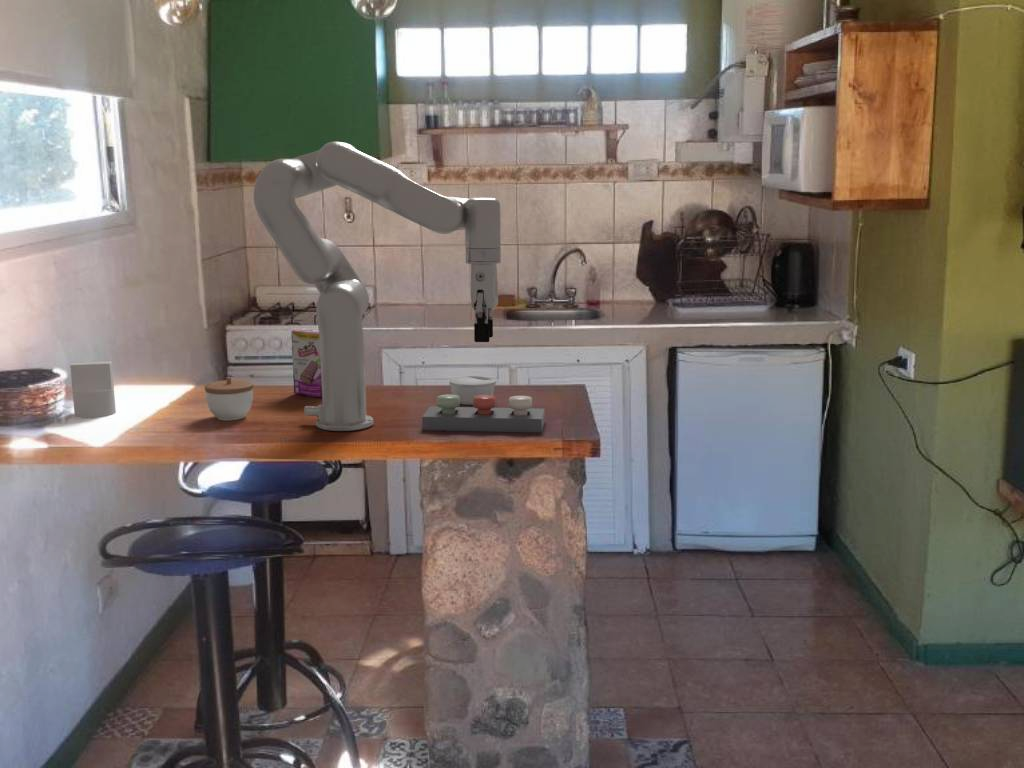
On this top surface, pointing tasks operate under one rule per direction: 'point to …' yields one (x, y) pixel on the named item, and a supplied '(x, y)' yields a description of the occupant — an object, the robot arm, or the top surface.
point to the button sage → (448, 403)
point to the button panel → (484, 420)
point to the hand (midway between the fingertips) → (483, 338)
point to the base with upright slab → (93, 389)
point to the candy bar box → (306, 362)
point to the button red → (484, 404)
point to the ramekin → (471, 387)
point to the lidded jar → (229, 398)
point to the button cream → (520, 404)
